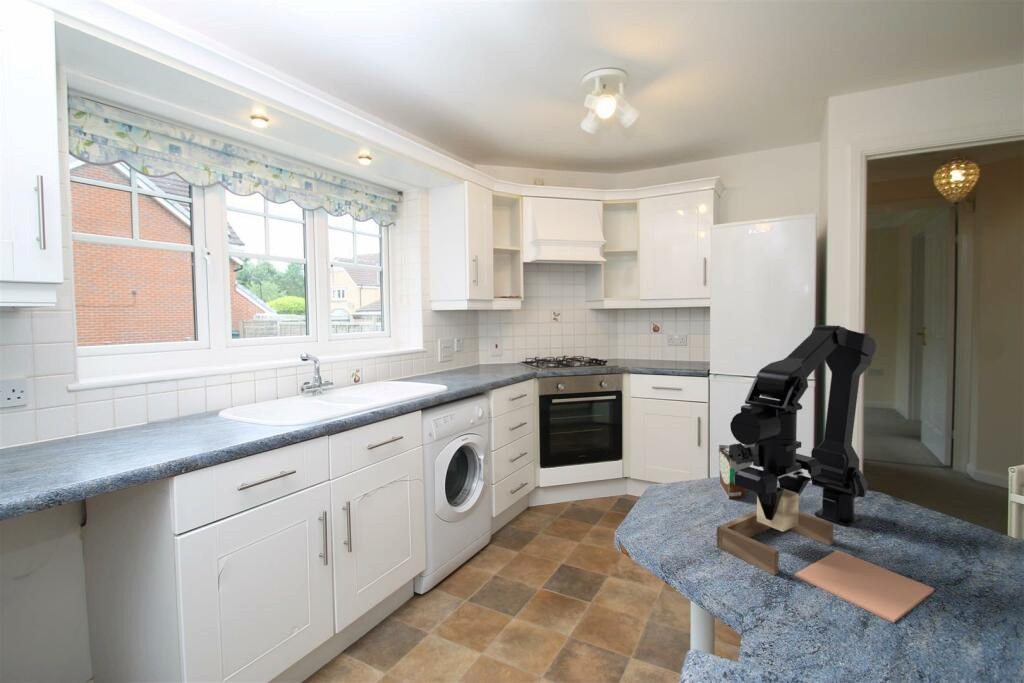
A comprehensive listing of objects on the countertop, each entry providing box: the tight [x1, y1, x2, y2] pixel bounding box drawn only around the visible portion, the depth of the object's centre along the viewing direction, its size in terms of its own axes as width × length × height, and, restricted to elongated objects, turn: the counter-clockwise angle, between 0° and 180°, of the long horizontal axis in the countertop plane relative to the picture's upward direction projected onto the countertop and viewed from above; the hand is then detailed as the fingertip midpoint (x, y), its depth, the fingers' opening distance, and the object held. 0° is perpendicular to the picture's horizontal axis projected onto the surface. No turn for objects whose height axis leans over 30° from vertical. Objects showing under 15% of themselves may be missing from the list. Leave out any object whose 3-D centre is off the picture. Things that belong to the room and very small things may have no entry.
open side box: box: [716, 510, 835, 576], centre depth 90 cm, size 19×11×4 cm, turn 120°
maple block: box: [756, 486, 800, 533], centre depth 89 cm, size 5×5×6 cm
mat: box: [794, 549, 935, 624], centre depth 78 cm, size 14×14×1 cm
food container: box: [718, 444, 753, 500], centre depth 115 cm, size 12×6×10 cm, turn 168°
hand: (777, 515), depth 89 cm, fingers closed on maple block, 5 cm apart
